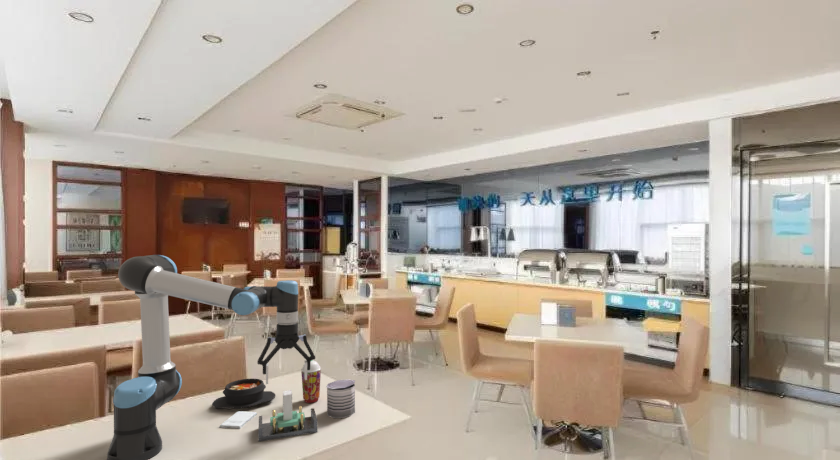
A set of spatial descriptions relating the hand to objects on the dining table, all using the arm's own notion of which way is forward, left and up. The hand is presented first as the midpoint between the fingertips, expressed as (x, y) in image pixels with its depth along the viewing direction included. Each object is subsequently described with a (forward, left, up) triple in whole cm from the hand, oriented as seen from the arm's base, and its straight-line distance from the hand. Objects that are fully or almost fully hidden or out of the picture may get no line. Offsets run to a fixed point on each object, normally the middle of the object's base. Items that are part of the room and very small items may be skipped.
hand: (286, 380), depth 158 cm
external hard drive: (-17, +15, -19) cm, 30 cm away
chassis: (0, 0, -18) cm, 18 cm away
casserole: (-16, +33, -18) cm, 41 cm away
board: (0, 0, -15) cm, 15 cm away
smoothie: (+11, +26, -18) cm, 34 cm away
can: (+21, +9, -18) cm, 29 cm away
